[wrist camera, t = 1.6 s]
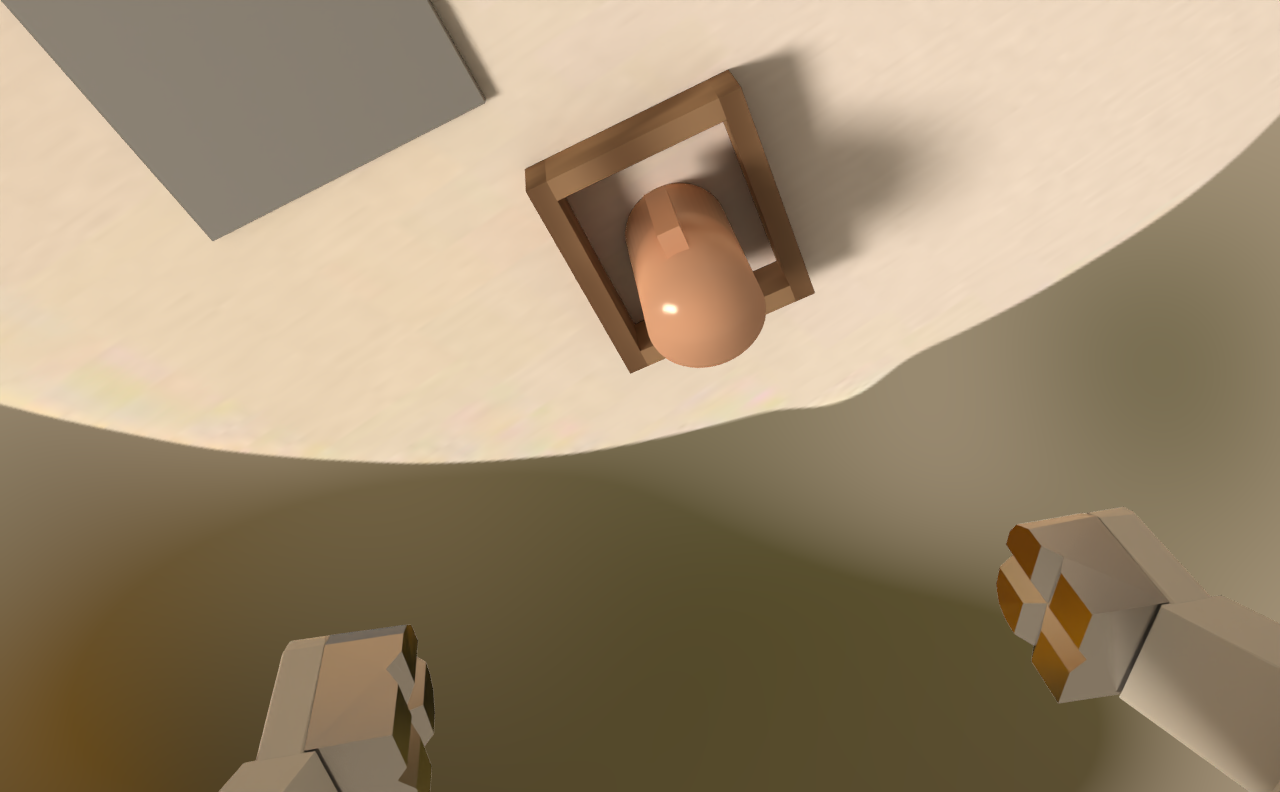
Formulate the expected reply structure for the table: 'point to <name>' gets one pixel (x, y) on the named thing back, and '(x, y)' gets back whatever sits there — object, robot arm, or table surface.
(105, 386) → the table surface
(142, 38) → the mat
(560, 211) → the brown wooden frame
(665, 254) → the capsule with tab
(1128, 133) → the table surface
